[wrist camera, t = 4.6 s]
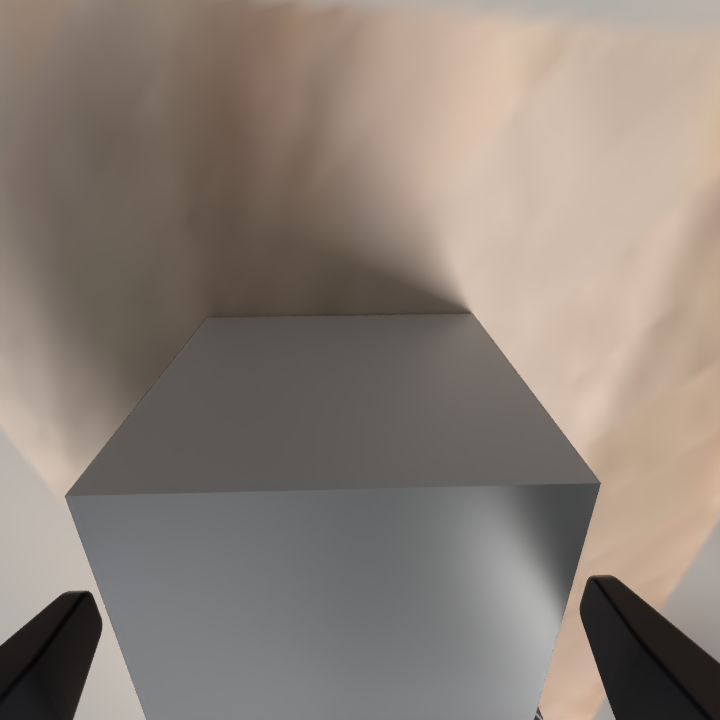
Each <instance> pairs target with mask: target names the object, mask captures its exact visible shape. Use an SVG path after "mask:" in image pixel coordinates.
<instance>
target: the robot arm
mask: <svg viewBox="0 0 720 720" xmlns="http://www.w3.org/2000/svg"><path fill="white" fill-rule="evenodd" d="M580 615H581V619H582V623H583V626H584V629H585V632H586V635H587V638H588V641H589V643H590V646H591V649H592V652H593V655H594V658H595V661H596V664H597V667H598V670H599V673H600V676H601V679H602V682H603V685H604V688H605V691H606V694H607V697H608V700H609V703H610V705H611V708H612V711H613V714H614V716H615V718H616V720H720V663H719V662H718V661H717V660H715V659H714V658H713V657H712V656H711V655H709V654H708V653H707V652H706V651H705V650H703V649H702V648H701V647H700V646H698V645H697V644H696V643H695V642H694V641H692V640H691V639H690V638H689V637H688V636H686V635H685V634H684V633H683V632H682V631H680V630H679V629H678V628H677V627H675V626H674V625H673V624H672V623H670V622H669V621H668V620H667V619H666V618H664V617H663V616H662V615H661V614H660V613H658V612H657V611H656V610H655V609H654V608H652V607H651V606H650V605H649V604H648V603H646V602H645V601H644V600H643V599H641V598H640V597H639V596H638V595H637V594H635V593H634V592H633V591H632V590H631V589H629V588H628V587H627V586H626V585H625V584H623V583H622V582H621V581H620V580H618V579H617V578H615V577H614V576H611V575H593V576H590V577H589V578H588V580H587V583H586V586H585V589H584V593H583V596H582V599H581V603H580ZM101 632H102V618H101V616H100V613H99V610H98V608H97V605H96V602H95V600H94V597H93V595H92V593H91V592H89V591H68V592H65V593H63V594H62V595H60V596H59V597H58V598H56V599H55V600H54V601H53V602H52V603H51V604H49V605H48V606H47V607H46V608H45V609H43V610H42V611H41V612H40V613H39V614H38V615H36V616H35V617H34V618H33V619H32V620H30V621H29V622H28V623H27V624H26V625H24V626H23V627H22V628H21V629H20V630H19V631H17V632H16V633H15V634H14V635H13V636H11V637H10V638H9V639H8V640H7V641H6V642H4V643H3V644H2V645H1V646H0V720H73V718H74V715H75V712H76V709H77V706H78V703H79V700H80V697H81V694H82V691H83V688H84V685H85V682H86V679H87V676H88V673H89V670H90V667H91V663H92V660H93V657H94V654H95V651H96V648H97V645H98V642H99V639H100V636H101Z"/></svg>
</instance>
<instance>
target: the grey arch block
mask: <svg viewBox="0 0 720 720" xmlns="http://www.w3.org/2000/svg"><path fill="white" fill-rule="evenodd" d="M600 484H601V483H600V481H599V480H598V479H597V477H596V476H595V475H594V473H593V472H592V471H591V469H590V468H589V467H588V465H587V464H586V463H585V461H584V460H583V459H582V457H581V456H580V455H579V453H578V452H577V451H576V450H575V448H574V447H573V446H572V444H571V443H570V442H569V440H568V439H567V438H566V436H565V435H564V434H563V432H562V431H561V430H560V428H559V427H558V426H557V424H556V423H555V422H554V420H553V419H552V418H551V416H550V415H549V414H548V412H547V411H546V410H545V408H544V407H543V406H542V404H541V403H540V402H539V400H538V399H537V398H536V396H535V395H534V394H533V393H532V391H531V390H530V389H529V387H528V386H527V385H526V383H525V382H524V381H523V379H522V378H521V377H520V375H519V374H518V373H517V371H516V370H515V369H514V367H513V366H512V365H511V363H510V362H509V361H508V359H507V358H506V357H505V355H504V354H503V353H502V351H501V350H500V349H499V347H498V346H497V345H496V343H495V342H494V341H493V339H492V338H491V337H490V336H489V334H488V333H487V332H486V330H485V329H484V328H483V326H482V325H481V324H480V322H479V321H478V320H477V318H476V317H475V316H474V314H473V313H468V314H400V315H332V316H264V317H207V318H206V319H205V320H204V322H203V323H202V324H201V325H200V327H199V328H198V329H197V330H196V332H195V333H194V334H193V335H192V337H191V338H190V339H189V340H188V342H187V343H186V344H185V345H184V347H183V348H182V349H181V351H180V352H179V353H178V354H177V356H176V357H175V358H174V359H173V361H172V362H171V363H170V364H169V366H168V367H167V368H166V369H165V371H164V372H163V373H162V374H161V376H160V377H159V378H158V379H157V381H156V382H155V383H154V384H153V386H152V387H151V388H150V390H149V391H148V392H147V393H146V395H145V396H144V397H143V398H142V400H141V401H140V402H139V403H138V405H137V406H136V407H135V408H134V410H133V411H132V412H131V413H130V415H129V416H128V417H127V418H126V420H125V421H124V422H123V424H122V425H121V426H120V427H119V429H118V430H117V431H116V432H115V434H114V435H113V436H112V437H111V439H110V440H109V441H108V442H107V444H106V445H105V446H104V447H103V449H102V450H101V451H100V452H99V454H98V455H97V456H96V457H95V459H94V460H93V461H92V463H91V464H90V465H89V466H88V468H87V469H86V470H85V471H84V473H83V474H82V475H81V476H80V478H79V479H78V480H77V481H76V483H75V484H74V485H73V486H72V488H71V489H70V490H69V491H68V493H67V494H66V495H65V498H66V501H67V503H68V506H69V509H70V512H71V514H72V517H73V520H74V522H75V525H76V528H77V531H78V534H79V536H80V539H81V542H82V545H83V547H84V550H85V553H86V556H87V558H88V561H89V564H90V567H91V569H92V572H93V575H94V577H95V580H96V583H97V586H98V588H99V591H100V594H101V596H102V599H103V602H104V604H105V608H106V610H107V613H108V616H109V618H110V621H111V624H112V627H113V629H114V632H115V635H116V638H117V640H118V643H119V646H120V649H121V651H122V654H123V657H124V660H125V662H126V665H127V668H128V671H129V673H130V676H131V679H132V681H133V684H134V687H135V690H136V693H137V695H138V698H139V701H140V703H141V706H142V709H143V712H144V714H145V717H146V720H534V718H535V715H536V711H537V708H538V704H539V700H540V697H541V693H542V690H543V686H544V683H545V679H546V676H547V672H548V669H549V665H550V661H551V658H552V654H553V651H554V647H555V644H556V640H557V637H558V633H559V630H560V626H561V622H562V619H563V615H564V612H565V608H566V605H567V601H568V598H569V594H570V591H571V587H572V583H573V580H574V576H575V573H576V569H577V566H578V562H579V559H580V555H581V552H582V548H583V544H584V541H585V537H586V534H587V530H588V527H589V523H590V520H591V516H592V513H593V509H594V505H595V502H596V498H597V495H598V491H599V488H600Z"/></svg>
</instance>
